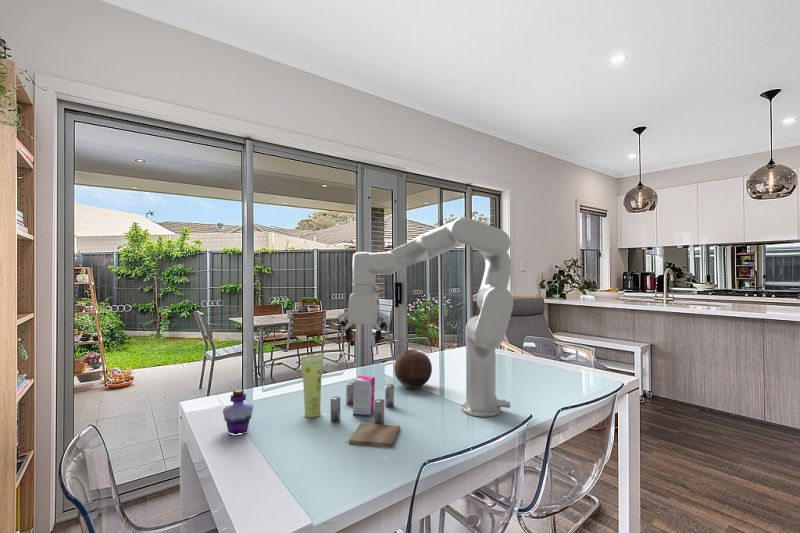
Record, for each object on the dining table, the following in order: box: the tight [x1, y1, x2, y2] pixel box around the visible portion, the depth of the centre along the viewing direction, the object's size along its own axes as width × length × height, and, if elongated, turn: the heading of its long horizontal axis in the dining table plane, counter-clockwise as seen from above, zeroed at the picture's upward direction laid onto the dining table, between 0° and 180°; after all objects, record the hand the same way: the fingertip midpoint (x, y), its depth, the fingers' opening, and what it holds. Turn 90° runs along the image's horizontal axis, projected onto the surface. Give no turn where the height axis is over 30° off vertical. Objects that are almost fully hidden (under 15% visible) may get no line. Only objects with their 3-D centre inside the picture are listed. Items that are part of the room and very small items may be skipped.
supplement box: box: [352, 375, 376, 417], centre depth 130 cm, size 6×6×12 cm
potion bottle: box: [222, 389, 254, 434], centre depth 115 cm, size 9×9×12 cm
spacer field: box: [330, 381, 395, 425], centre depth 130 cm, size 17×19×7 cm
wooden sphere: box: [394, 348, 433, 389], centre depth 159 cm, size 15×15×15 cm
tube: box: [300, 353, 324, 418], centre depth 128 cm, size 6×5×20 cm
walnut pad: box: [348, 422, 401, 448], centre depth 112 cm, size 12×12×1 cm
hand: (363, 341), depth 130 cm, fingers open, 9 cm apart
